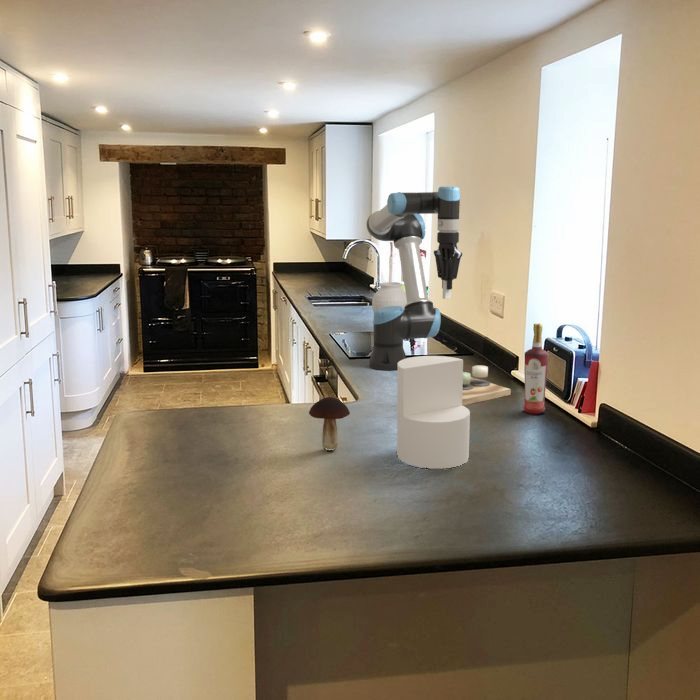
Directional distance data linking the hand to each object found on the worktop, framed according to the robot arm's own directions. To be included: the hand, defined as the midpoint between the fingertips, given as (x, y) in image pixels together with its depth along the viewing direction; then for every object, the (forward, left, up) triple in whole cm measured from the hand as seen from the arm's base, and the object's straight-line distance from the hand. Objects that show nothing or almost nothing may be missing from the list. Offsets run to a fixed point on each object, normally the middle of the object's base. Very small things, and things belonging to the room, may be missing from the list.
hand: (446, 298), depth 256 cm
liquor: (+45, -2, -31) cm, 54 cm away
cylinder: (+57, -52, -31) cm, 83 cm away
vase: (-79, +33, -31) cm, 91 cm away
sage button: (+16, -6, -27) cm, 32 cm away
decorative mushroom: (+38, -73, -31) cm, 87 cm away
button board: (+16, -6, -30) cm, 35 cm away
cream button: (+16, +2, -25) cm, 30 cm away
